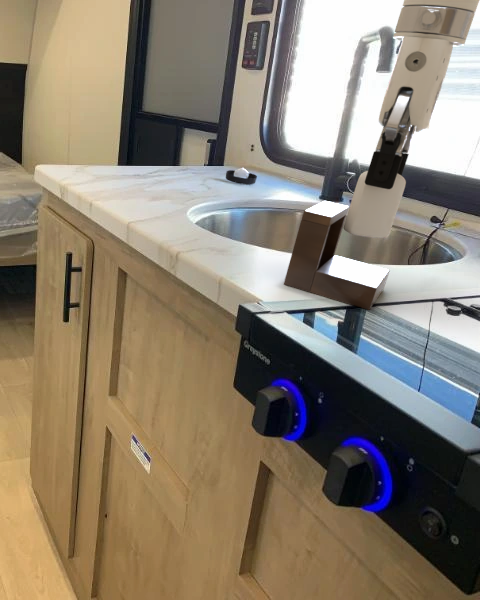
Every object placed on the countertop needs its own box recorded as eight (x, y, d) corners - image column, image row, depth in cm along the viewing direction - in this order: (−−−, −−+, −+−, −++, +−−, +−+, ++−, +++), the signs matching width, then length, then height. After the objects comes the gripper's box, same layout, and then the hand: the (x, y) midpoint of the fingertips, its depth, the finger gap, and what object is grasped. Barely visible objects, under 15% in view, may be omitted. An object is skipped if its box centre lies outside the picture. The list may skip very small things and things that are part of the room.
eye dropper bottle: (342, 226, 81) (370, 136, 77) (387, 235, 79) (418, 143, 75) (342, 233, 77) (371, 138, 73) (388, 242, 76) (421, 146, 71)
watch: (254, 183, 154) (258, 169, 153) (255, 186, 150) (258, 172, 149) (224, 178, 155) (227, 164, 154) (224, 181, 151) (227, 167, 150)
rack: (383, 289, 84) (407, 219, 80) (369, 310, 75) (395, 232, 71) (304, 267, 89) (324, 200, 85) (283, 284, 80) (303, 210, 77)
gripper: (464, 22, 60) (404, 199, 67) (471, 39, 74) (421, 184, 81) (385, 16, 64) (336, 184, 71) (406, 33, 77) (362, 173, 84)
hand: (382, 183), depth 76 cm, fingers closed on eye dropper bottle, 4 cm apart
